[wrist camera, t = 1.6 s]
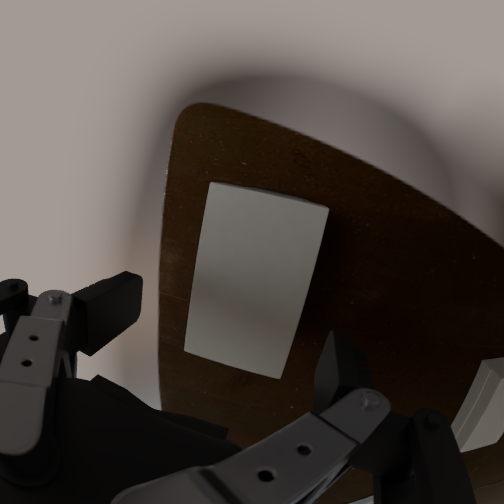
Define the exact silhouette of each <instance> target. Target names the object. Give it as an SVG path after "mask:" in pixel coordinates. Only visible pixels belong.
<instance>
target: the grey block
mask: <svg viewBox="0 0 504 504" xmlns="http://www.w3.org/2000/svg"><path fill="white" fill-rule="evenodd" d="M451 428H452V431H453V434H454V436H455V439H456V441H457V444H458V447H459V450H460V452H465V451H469V450H473V449H476V448H480V447H483V446H487V445H490V444H493V443H496V442H497V441H498V439H499V438H500V436H501V435H502V433H503V432H504V357H502V358H495V359H487V360H482V362H481V365H480V367H479V369H478V372H477V374H476V376H475V379H474V381H473V383H472V385H471V388H470V390H469V392H468V394H467V396H466V398H465V400H464V402H463V404H462V406H461V408H460V410H459V412H458V414H457V416H456V417H455V419H454V421H453V423H452V425H451Z"/></svg>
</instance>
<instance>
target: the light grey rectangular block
mask: <svg viewBox="0 0 504 504" xmlns="http://www.w3.org/2000/svg"><path fill="white" fill-rule="evenodd" d="M328 213H329V208H327V207H326V206H324V205H320V204H316V203H312V202H308V201H304V200H300V199H296V198H291V197H287V196H283V195H278V194H274V193H269V192H265V191H260V190H256V189H251V188H246V187H241V186H236V185H231V184H226V183H216V182H211V183H210V186H209V191H208V197H207V202H206V207H205V213H204V218H203V224H202V230H201V235H200V241H199V247H198V253H197V260H196V266H195V273H194V279H193V286H192V293H191V300H190V307H189V315H188V322H187V330H186V339H185V347H184V351H186V352H189V353H192V354H195V355H198V356H201V357H204V358H207V359H210V360H213V361H216V362H220V363H223V364H226V365H230V366H233V367H236V368H240V369H243V370H247V371H250V372H254V373H258V374H262V375H265V376H269V377H273V378H277V379H280V378H281V375H282V372H283V369H284V366H285V363H286V360H287V357H288V354H289V351H290V348H291V345H292V342H293V339H294V336H295V332H296V329H297V326H298V323H299V320H300V316H301V313H302V310H303V306H304V303H305V299H306V296H307V293H308V289H309V286H310V282H311V278H312V275H313V271H314V268H315V264H316V260H317V256H318V253H319V249H320V245H321V241H322V237H323V233H324V229H325V225H326V221H327V217H328Z"/></svg>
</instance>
